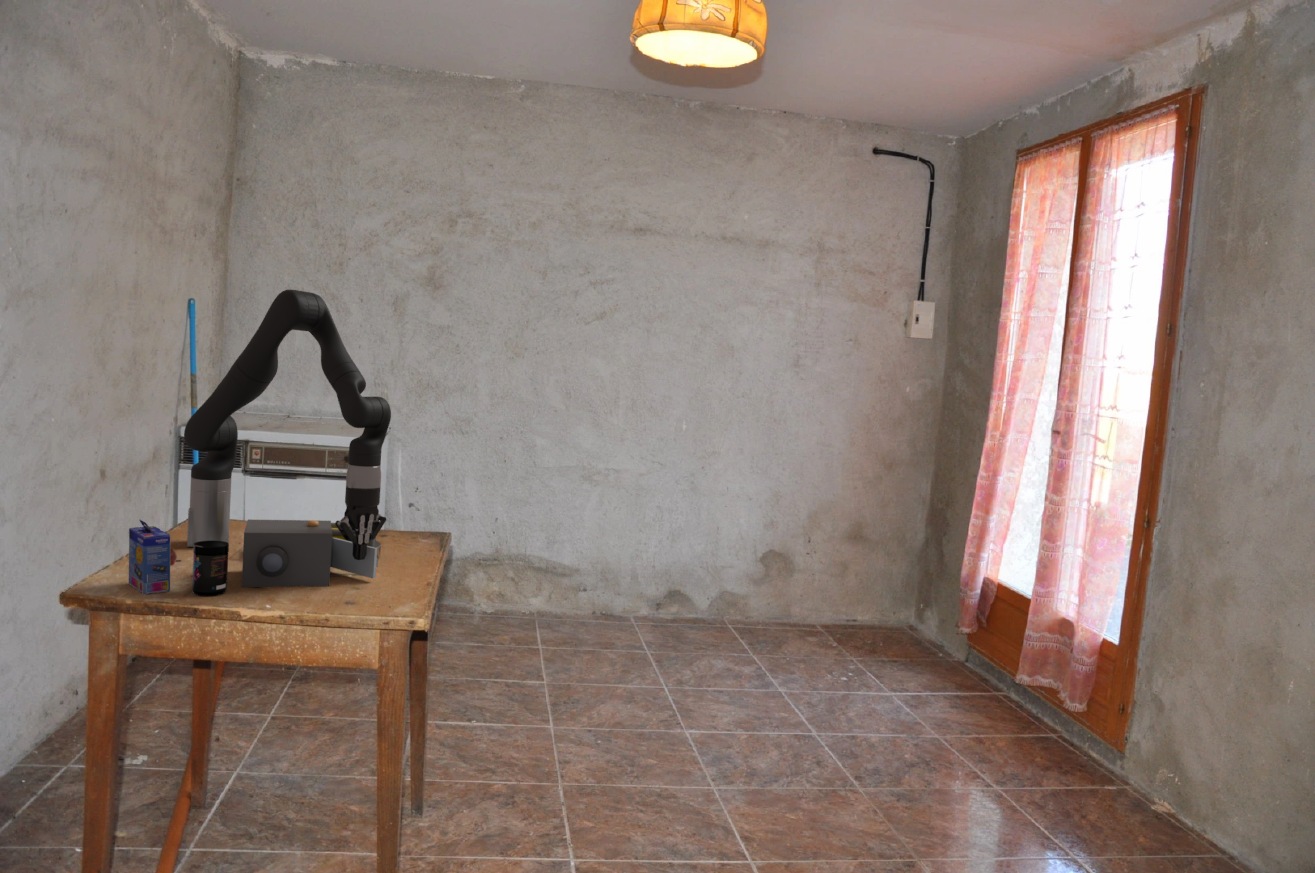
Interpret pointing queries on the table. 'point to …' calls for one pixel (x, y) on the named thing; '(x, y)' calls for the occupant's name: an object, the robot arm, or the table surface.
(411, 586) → the table surface
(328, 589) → the table surface
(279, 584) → the block
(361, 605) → the table surface
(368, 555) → the side door
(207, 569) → the supplement container
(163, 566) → the ink cartridge box
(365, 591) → the table surface
